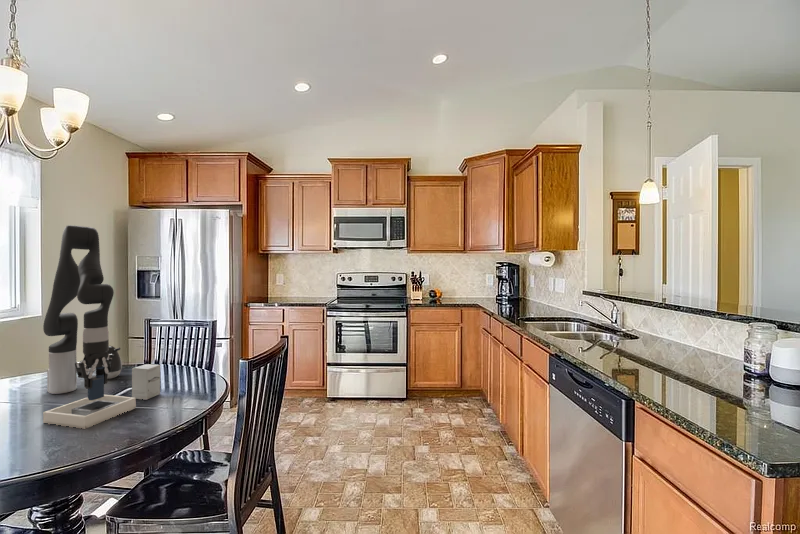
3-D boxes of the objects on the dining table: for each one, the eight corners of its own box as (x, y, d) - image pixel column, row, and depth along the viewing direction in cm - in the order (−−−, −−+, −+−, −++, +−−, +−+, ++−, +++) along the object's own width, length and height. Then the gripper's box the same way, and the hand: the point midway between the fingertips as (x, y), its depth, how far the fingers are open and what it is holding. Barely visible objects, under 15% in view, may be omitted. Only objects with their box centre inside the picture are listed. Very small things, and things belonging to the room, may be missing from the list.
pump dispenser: (112, 380, 193) (112, 348, 192) (90, 380, 193) (90, 348, 192) (127, 374, 203) (127, 343, 202) (106, 374, 203) (106, 343, 203)
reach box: (43, 423, 143) (43, 412, 143) (97, 403, 162) (97, 393, 162) (84, 429, 139) (84, 417, 138) (135, 408, 158) (135, 397, 158)
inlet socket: (71, 417, 146) (71, 409, 146) (98, 407, 156) (98, 399, 156) (94, 420, 144) (94, 411, 144) (119, 410, 154) (119, 402, 154)
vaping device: (105, 396, 152) (105, 363, 152) (91, 401, 147) (91, 367, 147) (100, 395, 153) (100, 363, 152) (86, 400, 148) (85, 366, 147)
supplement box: (146, 400, 167) (146, 369, 167) (131, 398, 168) (131, 368, 168) (160, 394, 174) (160, 364, 174) (145, 393, 176) (145, 363, 175)
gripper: (105, 335, 157) (105, 379, 158) (67, 342, 143) (68, 391, 144) (121, 336, 156) (122, 381, 156) (85, 344, 142) (85, 393, 142)
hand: (96, 385), depth 150 cm, fingers closed on vaping device, 5 cm apart
